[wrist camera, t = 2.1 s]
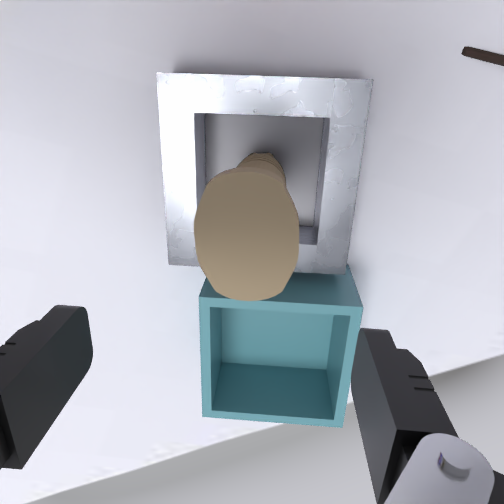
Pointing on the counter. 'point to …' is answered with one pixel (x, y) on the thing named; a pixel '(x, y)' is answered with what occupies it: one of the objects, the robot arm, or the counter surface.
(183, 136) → the socket block
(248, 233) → the handle
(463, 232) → the counter surface
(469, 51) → the sushi plate
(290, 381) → the bin
